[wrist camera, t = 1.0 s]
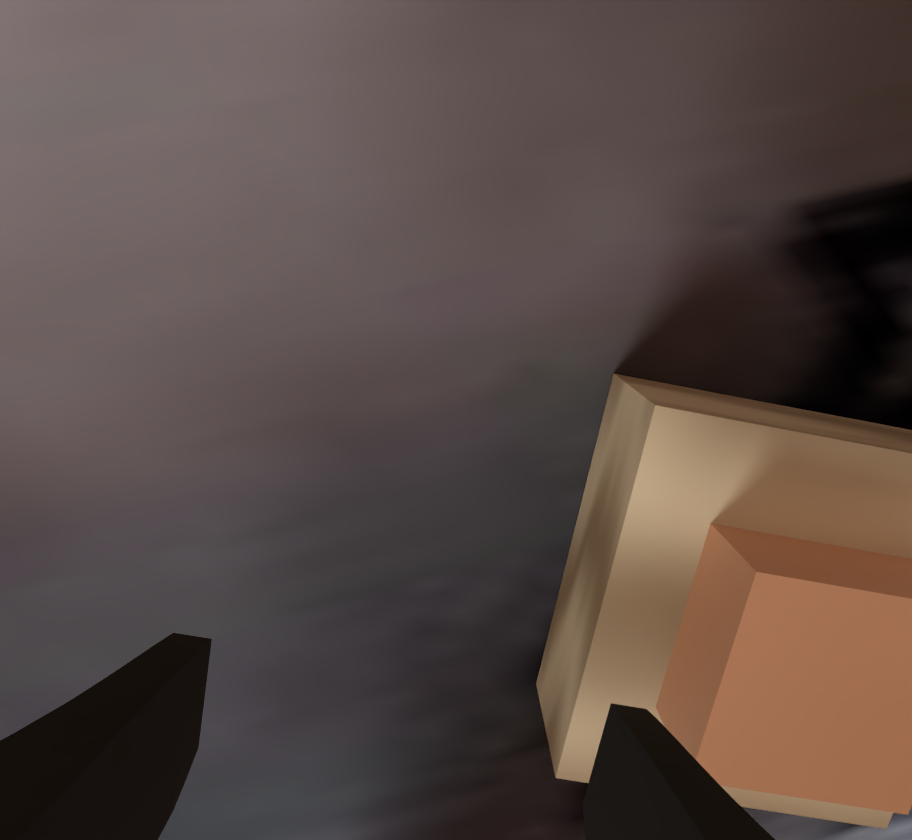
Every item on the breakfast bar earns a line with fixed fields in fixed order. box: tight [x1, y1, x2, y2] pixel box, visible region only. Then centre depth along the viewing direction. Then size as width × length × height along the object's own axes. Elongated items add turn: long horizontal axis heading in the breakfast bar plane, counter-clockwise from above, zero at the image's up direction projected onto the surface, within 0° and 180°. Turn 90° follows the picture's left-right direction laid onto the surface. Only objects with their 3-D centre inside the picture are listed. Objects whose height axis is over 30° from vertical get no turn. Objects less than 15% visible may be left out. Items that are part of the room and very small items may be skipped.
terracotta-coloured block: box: [656, 523, 912, 815], centre depth 16 cm, size 5×5×2 cm
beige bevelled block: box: [536, 374, 912, 829], centre depth 19 cm, size 10×9×4 cm
